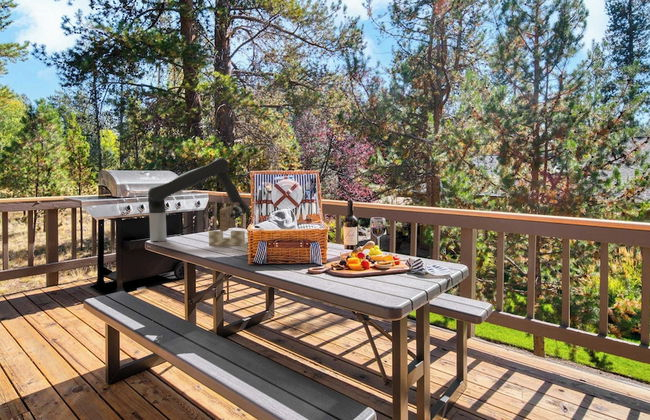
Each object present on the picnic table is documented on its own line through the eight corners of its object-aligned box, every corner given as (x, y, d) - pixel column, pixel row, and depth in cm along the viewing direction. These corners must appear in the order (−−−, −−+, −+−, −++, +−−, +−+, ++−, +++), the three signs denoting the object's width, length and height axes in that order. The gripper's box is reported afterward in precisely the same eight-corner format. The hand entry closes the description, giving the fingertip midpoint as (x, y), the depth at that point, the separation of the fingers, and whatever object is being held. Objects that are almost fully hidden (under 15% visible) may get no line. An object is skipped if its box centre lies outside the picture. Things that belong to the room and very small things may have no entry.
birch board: (209, 245, 240) (208, 231, 240) (210, 244, 243) (210, 230, 242) (244, 245, 240) (243, 231, 239) (244, 244, 243) (244, 230, 242)
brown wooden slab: (228, 226, 250) (227, 206, 248) (233, 226, 250) (232, 206, 248) (220, 231, 232) (219, 209, 231) (225, 231, 232) (225, 209, 230)
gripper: (223, 206, 260) (215, 209, 243) (246, 206, 260) (240, 209, 243) (223, 218, 261) (216, 222, 244) (246, 218, 261) (240, 222, 244)
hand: (228, 215), depth 244 cm, fingers closed on brown wooden slab, 3 cm apart
